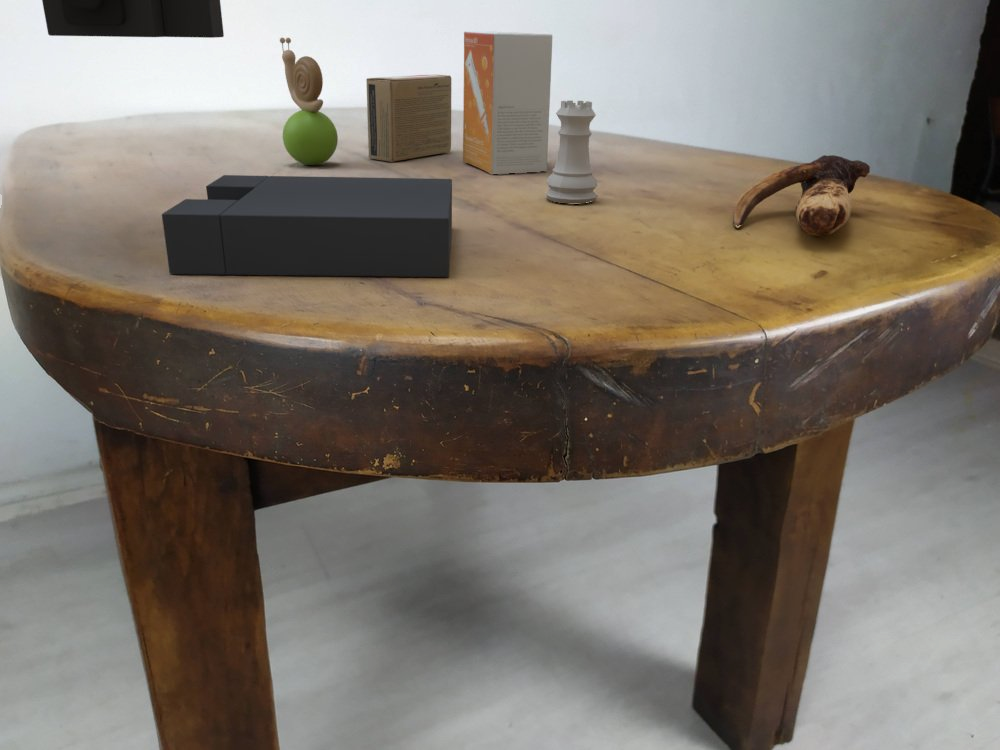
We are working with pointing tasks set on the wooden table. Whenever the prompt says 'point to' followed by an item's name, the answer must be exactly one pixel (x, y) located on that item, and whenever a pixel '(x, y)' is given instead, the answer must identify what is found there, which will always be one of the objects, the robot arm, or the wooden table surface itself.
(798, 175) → the lashed bone hook
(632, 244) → the wooden table surface
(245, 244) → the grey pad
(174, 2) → the black stepped block
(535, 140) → the small box
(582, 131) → the rook chess piece
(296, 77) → the snail figurine
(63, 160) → the wooden table surface
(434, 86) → the ink box
